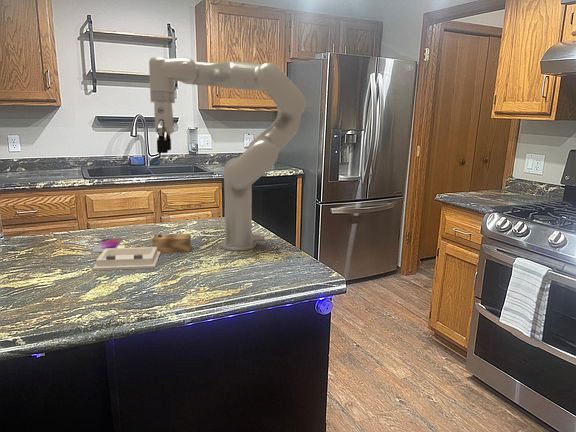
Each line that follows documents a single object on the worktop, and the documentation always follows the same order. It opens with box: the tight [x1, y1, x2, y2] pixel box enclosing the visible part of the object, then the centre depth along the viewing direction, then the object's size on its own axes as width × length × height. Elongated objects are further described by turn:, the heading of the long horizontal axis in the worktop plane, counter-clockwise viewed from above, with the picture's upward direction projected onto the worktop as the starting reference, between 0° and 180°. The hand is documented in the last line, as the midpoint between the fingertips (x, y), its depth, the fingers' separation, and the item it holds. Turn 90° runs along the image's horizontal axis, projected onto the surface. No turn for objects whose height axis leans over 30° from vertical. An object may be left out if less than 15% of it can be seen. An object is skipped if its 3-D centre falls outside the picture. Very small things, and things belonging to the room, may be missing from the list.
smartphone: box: [90, 238, 123, 254], centre depth 151 cm, size 7×1×15 cm
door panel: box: [152, 233, 192, 254], centre depth 149 cm, size 12×6×6 cm, turn 98°
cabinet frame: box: [92, 246, 162, 272], centre depth 136 cm, size 18×14×4 cm
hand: (164, 151), depth 142 cm, fingers open, 9 cm apart
